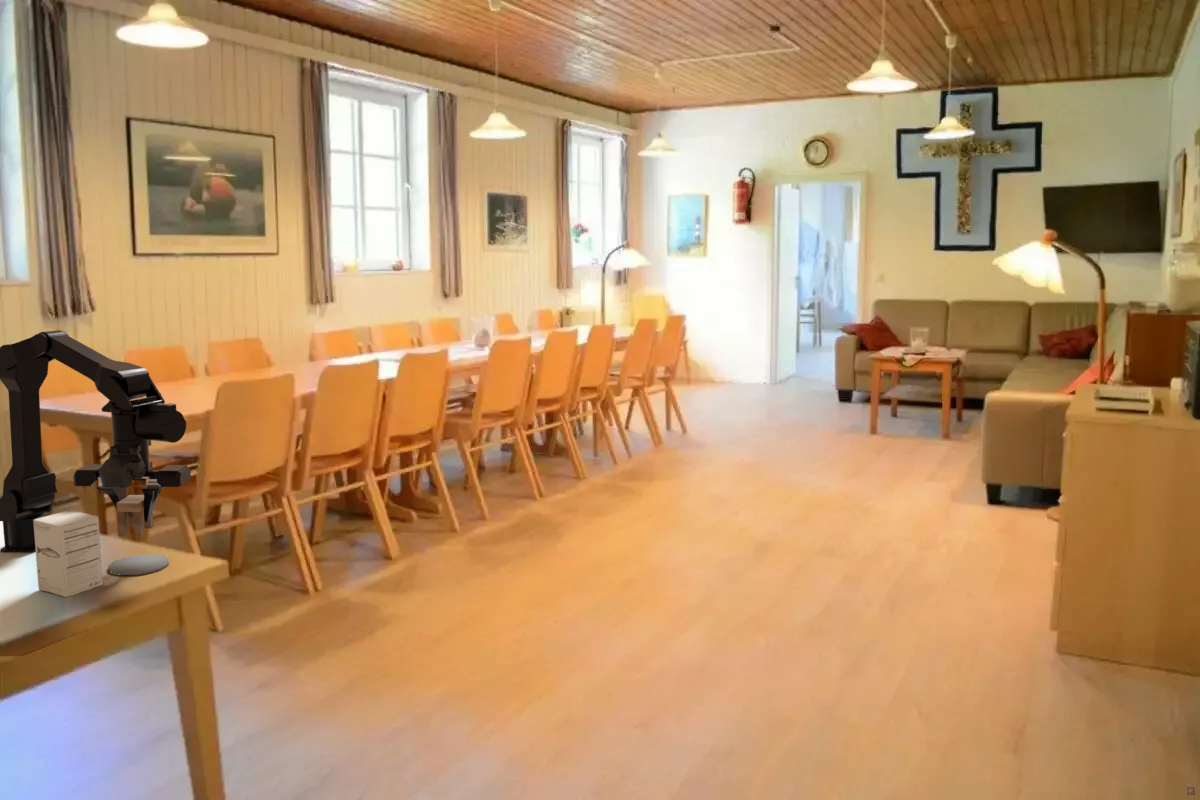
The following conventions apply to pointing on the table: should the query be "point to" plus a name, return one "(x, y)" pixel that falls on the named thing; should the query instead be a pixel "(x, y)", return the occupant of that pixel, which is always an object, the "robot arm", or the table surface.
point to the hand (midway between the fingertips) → (135, 521)
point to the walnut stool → (132, 515)
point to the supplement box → (68, 552)
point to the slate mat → (139, 564)
